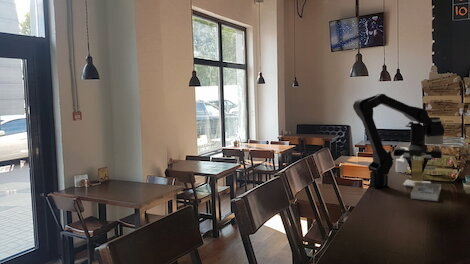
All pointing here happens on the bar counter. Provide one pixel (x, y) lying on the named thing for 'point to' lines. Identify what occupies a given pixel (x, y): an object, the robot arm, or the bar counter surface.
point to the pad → (412, 183)
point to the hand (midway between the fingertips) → (417, 172)
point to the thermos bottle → (437, 138)
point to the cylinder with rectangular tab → (401, 163)
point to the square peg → (417, 170)
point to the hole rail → (426, 191)
